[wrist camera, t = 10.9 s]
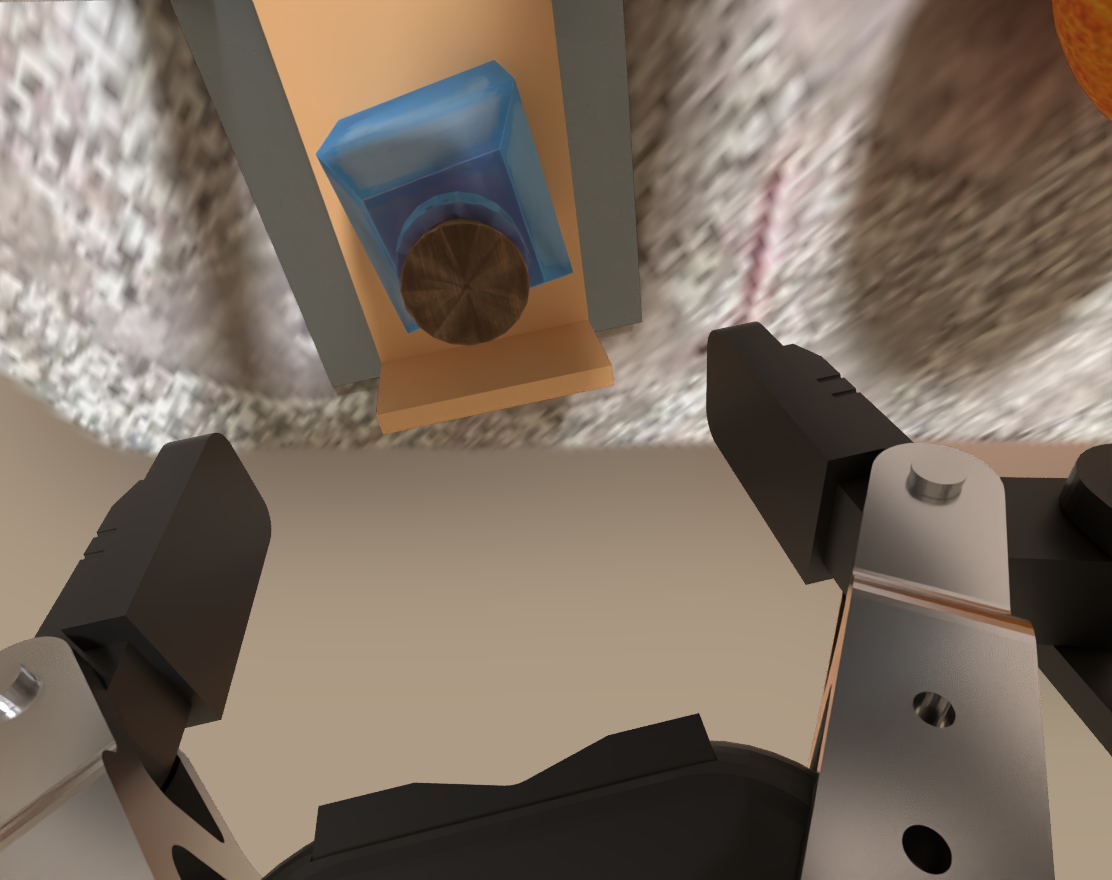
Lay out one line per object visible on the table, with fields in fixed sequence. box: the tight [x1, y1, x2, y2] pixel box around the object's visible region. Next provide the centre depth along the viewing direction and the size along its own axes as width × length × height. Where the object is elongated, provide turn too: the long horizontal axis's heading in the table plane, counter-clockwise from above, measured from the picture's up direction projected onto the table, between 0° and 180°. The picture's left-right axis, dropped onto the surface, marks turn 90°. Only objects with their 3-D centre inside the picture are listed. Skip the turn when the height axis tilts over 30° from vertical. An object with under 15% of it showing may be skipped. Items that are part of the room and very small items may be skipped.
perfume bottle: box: [316, 60, 573, 346], centre depth 20 cm, size 6×6×12 cm
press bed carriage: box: [253, 0, 614, 435], centre depth 24 cm, size 16×10×6 cm, turn 8°
